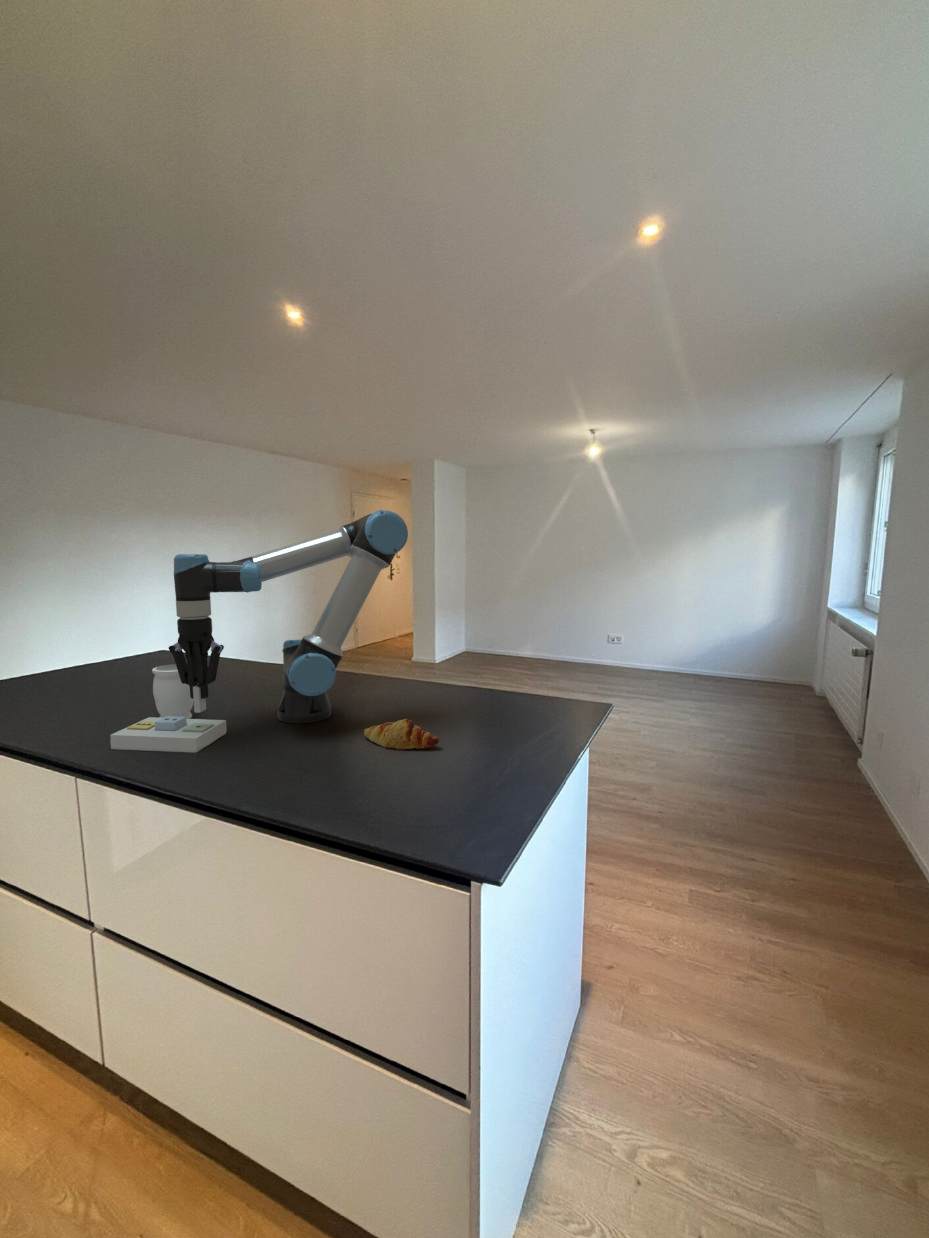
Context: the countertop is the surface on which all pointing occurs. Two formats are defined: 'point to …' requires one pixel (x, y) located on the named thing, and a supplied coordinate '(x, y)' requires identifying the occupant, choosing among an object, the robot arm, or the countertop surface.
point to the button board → (168, 737)
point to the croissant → (400, 735)
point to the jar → (171, 693)
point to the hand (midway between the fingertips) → (200, 710)
